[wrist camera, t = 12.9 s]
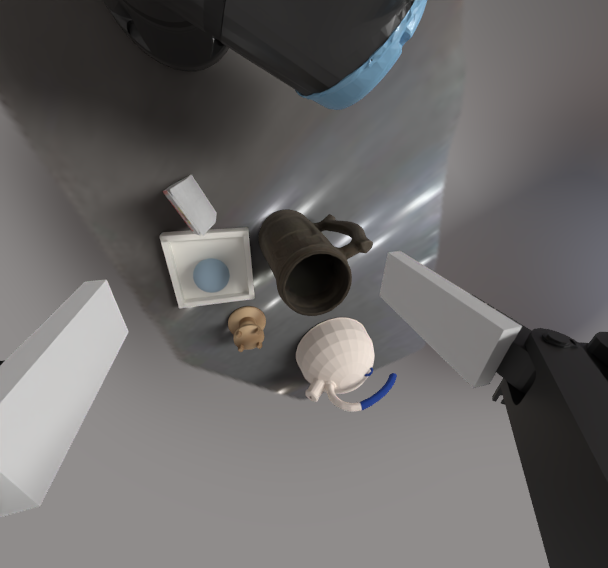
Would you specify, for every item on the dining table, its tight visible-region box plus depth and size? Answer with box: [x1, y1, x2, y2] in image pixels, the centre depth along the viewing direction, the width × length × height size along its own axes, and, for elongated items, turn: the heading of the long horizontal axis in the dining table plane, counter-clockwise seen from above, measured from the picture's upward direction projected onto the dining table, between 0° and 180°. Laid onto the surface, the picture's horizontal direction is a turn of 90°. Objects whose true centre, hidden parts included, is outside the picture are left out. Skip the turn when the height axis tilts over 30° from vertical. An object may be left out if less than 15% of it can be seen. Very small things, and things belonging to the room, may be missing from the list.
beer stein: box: [259, 210, 373, 316], centre depth 40 cm, size 15×11×20 cm
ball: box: [193, 258, 230, 293], centre depth 44 cm, size 6×6×6 cm
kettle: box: [296, 318, 397, 412], centre depth 59 cm, size 20×21×18 cm
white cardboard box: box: [163, 175, 217, 236], centre depth 37 cm, size 4×7×10 cm, turn 25°
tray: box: [159, 227, 255, 308], centre depth 46 cm, size 14×14×2 cm
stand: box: [228, 306, 266, 352], centre depth 52 cm, size 8×8×7 cm
